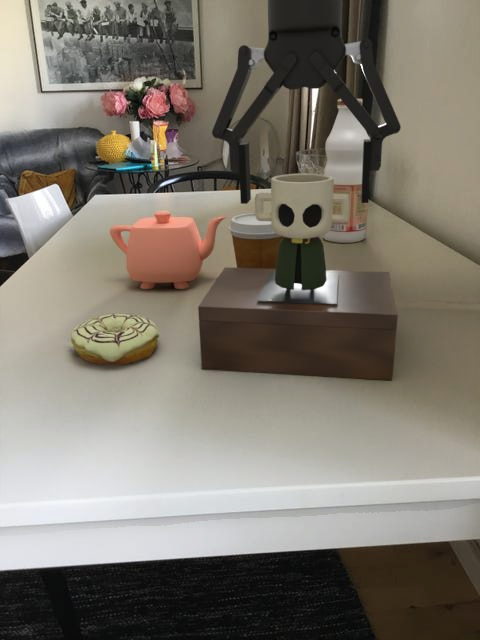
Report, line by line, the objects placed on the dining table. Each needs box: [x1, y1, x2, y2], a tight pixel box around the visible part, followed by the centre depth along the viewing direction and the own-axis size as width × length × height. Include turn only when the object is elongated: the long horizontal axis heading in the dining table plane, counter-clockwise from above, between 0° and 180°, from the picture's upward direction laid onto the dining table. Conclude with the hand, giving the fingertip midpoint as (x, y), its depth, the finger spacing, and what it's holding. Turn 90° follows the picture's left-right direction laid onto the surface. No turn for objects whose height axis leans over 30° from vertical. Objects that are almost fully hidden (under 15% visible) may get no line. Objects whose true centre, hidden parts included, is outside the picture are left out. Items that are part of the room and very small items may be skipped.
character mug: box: [254, 172, 350, 290], centre depth 66 cm, size 11×7×13 cm, turn 79°
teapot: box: [109, 210, 228, 290], centre depth 96 cm, size 20×12×12 cm, turn 86°
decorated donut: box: [70, 312, 161, 366], centre depth 72 cm, size 10×11×4 cm
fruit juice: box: [321, 98, 371, 244], centre depth 117 cm, size 9×9×28 cm
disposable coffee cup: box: [228, 212, 284, 269], centre depth 89 cm, size 10×10×12 cm
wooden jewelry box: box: [197, 266, 399, 381], centre depth 71 cm, size 22×15×8 cm
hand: (304, 201), depth 65 cm, fingers open, 13 cm apart
